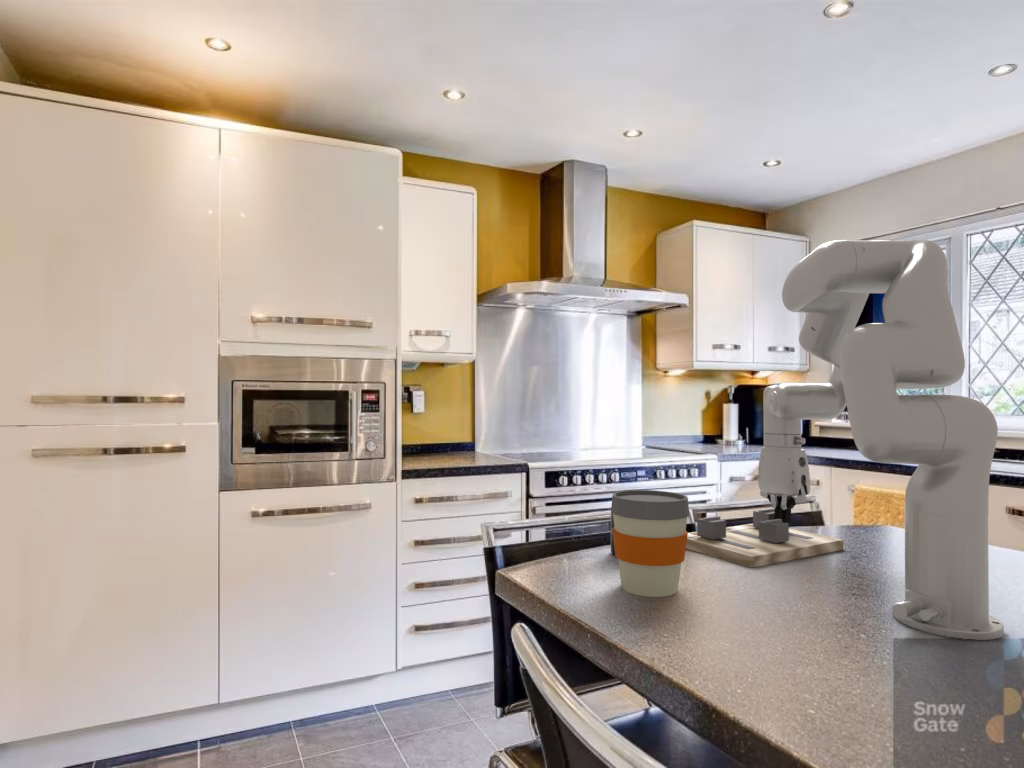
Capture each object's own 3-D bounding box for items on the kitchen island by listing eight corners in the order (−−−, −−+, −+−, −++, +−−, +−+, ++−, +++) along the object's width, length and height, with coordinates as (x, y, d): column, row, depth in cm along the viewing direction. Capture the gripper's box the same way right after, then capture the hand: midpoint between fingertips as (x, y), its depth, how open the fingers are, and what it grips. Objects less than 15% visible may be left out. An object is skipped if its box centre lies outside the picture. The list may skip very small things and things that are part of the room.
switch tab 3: (775, 543, 123) (775, 522, 123) (758, 539, 126) (758, 519, 126) (789, 540, 125) (789, 520, 125) (771, 536, 128) (772, 517, 128)
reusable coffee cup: (662, 574, 109) (662, 488, 109) (705, 596, 97) (705, 500, 97) (597, 580, 105) (597, 491, 105) (634, 604, 93) (634, 503, 93)
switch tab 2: (768, 530, 135) (768, 511, 135) (752, 526, 138) (752, 508, 138) (780, 528, 137) (780, 510, 137) (765, 524, 140) (765, 507, 140)
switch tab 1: (711, 539, 125) (712, 519, 125) (696, 535, 129) (697, 516, 129) (726, 537, 127) (726, 518, 127) (711, 533, 131) (711, 514, 131)
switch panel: (752, 567, 113) (752, 555, 113) (672, 544, 131) (672, 534, 131) (843, 549, 127) (843, 538, 127) (760, 530, 145) (760, 521, 145)
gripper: (825, 443, 130) (825, 531, 129) (764, 439, 143) (765, 519, 142) (802, 444, 126) (803, 535, 126) (742, 440, 139) (742, 522, 139)
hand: (782, 526), depth 134 cm, fingers closed
